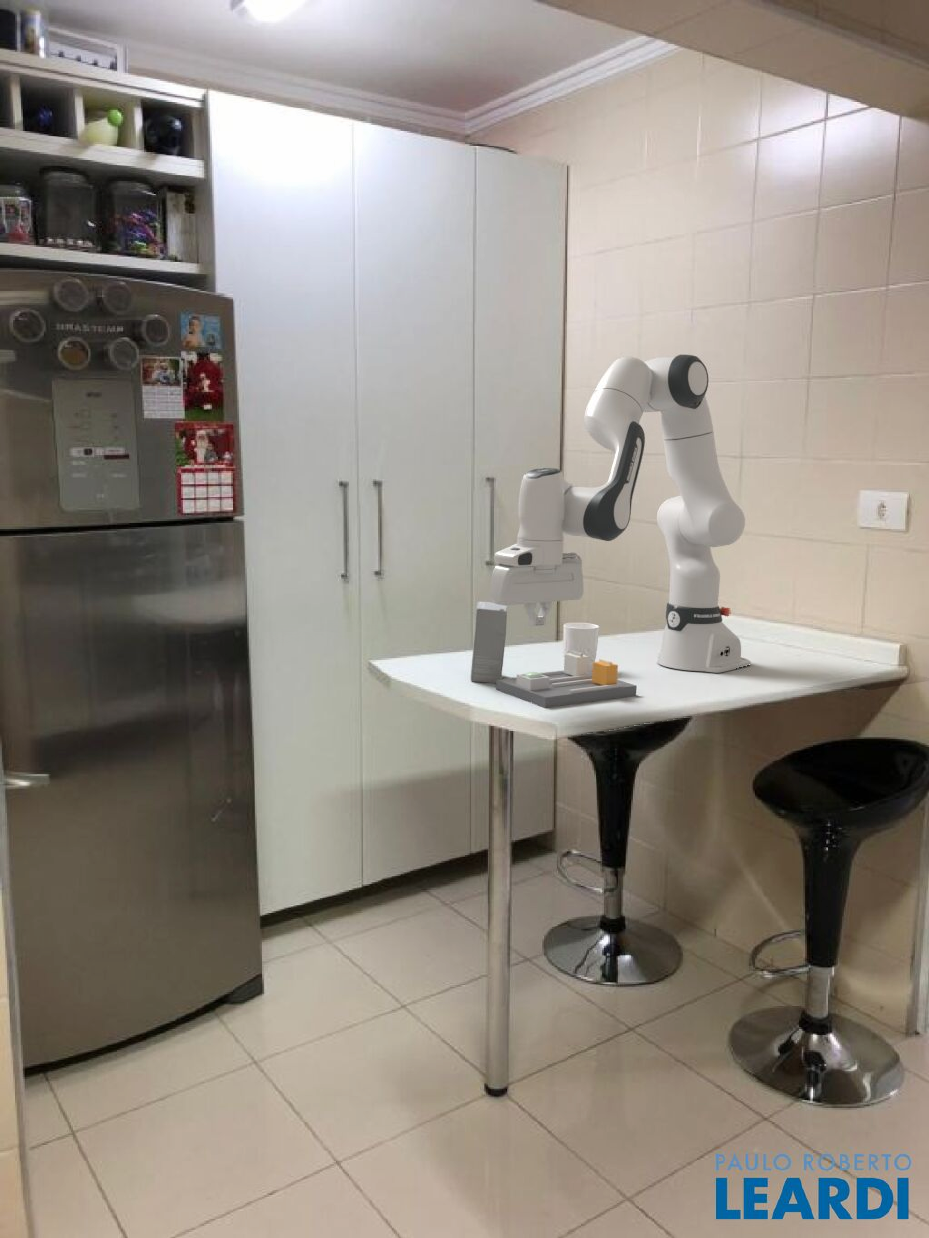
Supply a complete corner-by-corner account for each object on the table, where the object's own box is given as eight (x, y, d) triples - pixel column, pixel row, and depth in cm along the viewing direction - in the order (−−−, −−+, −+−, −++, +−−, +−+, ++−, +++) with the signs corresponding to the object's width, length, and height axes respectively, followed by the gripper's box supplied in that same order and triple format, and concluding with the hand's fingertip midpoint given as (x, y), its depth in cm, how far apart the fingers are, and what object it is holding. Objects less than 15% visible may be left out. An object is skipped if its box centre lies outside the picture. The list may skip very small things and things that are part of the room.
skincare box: (471, 673, 215) (473, 600, 212) (504, 674, 214) (507, 602, 212) (470, 682, 206) (472, 606, 204) (504, 683, 206) (507, 608, 204)
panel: (584, 678, 213) (585, 659, 213) (636, 695, 200) (637, 674, 199) (496, 689, 201) (497, 669, 200) (544, 707, 188) (546, 686, 187)
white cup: (592, 674, 218) (594, 629, 216) (557, 671, 220) (559, 626, 219) (600, 668, 225) (602, 624, 223) (566, 664, 228) (568, 621, 226)
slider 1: (575, 671, 210) (576, 650, 209) (587, 675, 206) (588, 653, 205) (564, 672, 208) (565, 651, 207) (576, 676, 205) (577, 654, 204)
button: (534, 681, 197) (534, 671, 197) (543, 684, 195) (544, 674, 195) (522, 682, 196) (522, 672, 196) (531, 685, 193) (531, 675, 193)
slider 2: (603, 680, 202) (604, 658, 201) (616, 684, 199) (618, 661, 198) (592, 681, 200) (593, 659, 200) (605, 685, 197) (606, 663, 196)
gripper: (571, 550, 199) (568, 618, 202) (487, 554, 188) (485, 626, 191) (592, 553, 194) (588, 623, 196) (506, 557, 183) (504, 631, 185)
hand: (537, 625), depth 193 cm, fingers closed
